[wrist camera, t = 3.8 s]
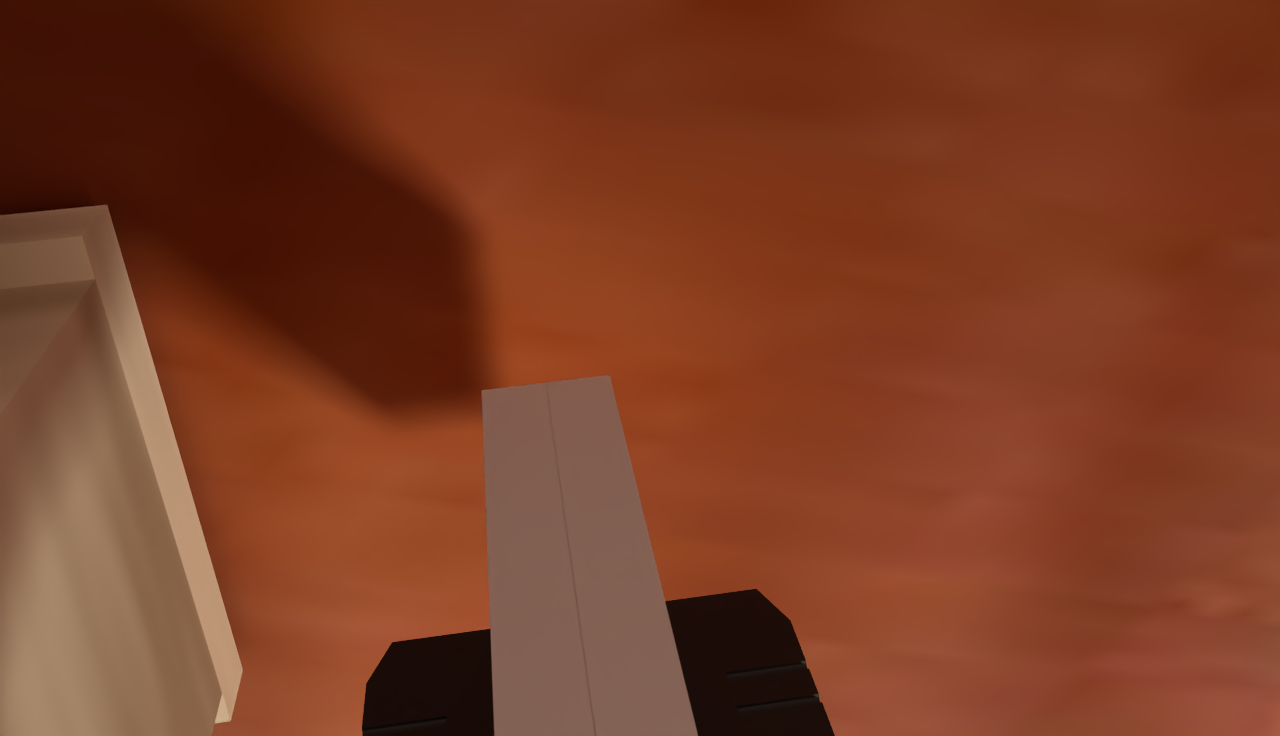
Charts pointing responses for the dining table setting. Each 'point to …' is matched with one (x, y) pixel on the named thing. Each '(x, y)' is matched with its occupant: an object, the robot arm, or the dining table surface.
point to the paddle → (96, 506)
